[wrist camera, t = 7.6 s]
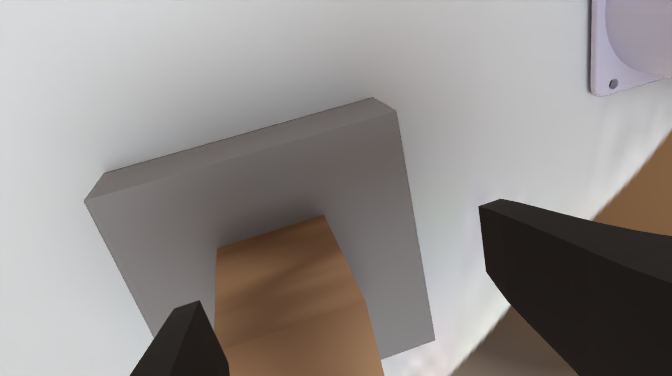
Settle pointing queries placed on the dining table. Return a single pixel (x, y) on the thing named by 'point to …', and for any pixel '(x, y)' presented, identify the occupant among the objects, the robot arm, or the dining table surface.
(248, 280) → the walnut block
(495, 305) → the dining table surface
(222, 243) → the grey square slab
